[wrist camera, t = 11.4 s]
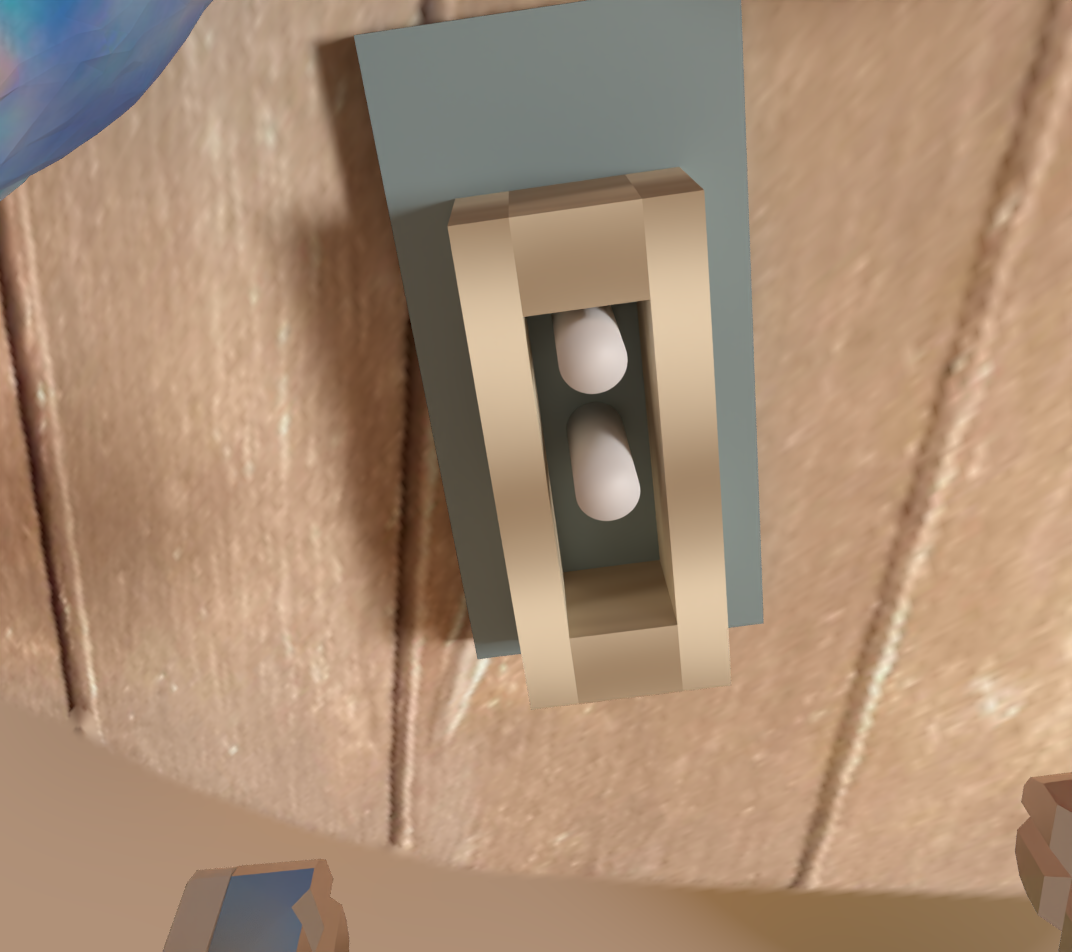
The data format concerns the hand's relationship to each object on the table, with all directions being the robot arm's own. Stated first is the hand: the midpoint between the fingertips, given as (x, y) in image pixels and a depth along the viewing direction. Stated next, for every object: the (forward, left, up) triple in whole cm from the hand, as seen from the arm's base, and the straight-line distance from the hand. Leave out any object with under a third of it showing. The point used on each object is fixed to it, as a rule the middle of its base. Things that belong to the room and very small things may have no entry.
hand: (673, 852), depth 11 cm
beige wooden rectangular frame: (+1, 0, -14) cm, 14 cm away
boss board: (-1, 0, -15) cm, 15 cm away
